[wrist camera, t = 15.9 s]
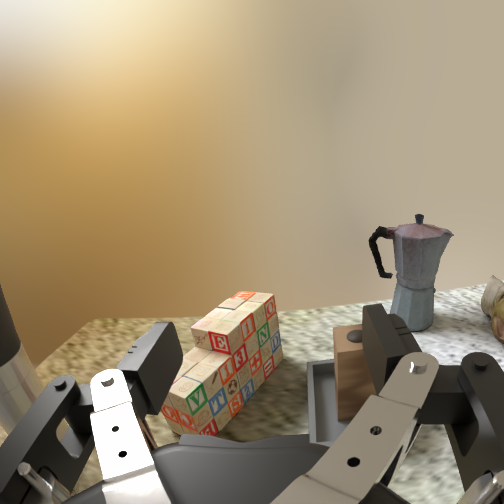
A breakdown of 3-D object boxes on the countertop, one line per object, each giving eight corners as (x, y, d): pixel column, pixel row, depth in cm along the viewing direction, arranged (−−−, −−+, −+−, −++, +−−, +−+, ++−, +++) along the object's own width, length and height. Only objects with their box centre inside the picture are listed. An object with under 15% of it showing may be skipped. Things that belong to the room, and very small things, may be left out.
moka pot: (452, 330, 44) (461, 218, 39) (371, 336, 50) (368, 223, 44) (441, 305, 53) (444, 207, 47) (369, 310, 58) (365, 211, 53)
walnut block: (337, 421, 32) (337, 351, 29) (334, 394, 37) (332, 326, 34) (377, 415, 32) (384, 344, 28) (371, 390, 36) (374, 321, 33)
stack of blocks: (205, 449, 32) (175, 378, 29) (170, 431, 36) (138, 362, 32) (284, 358, 49) (274, 292, 46) (252, 351, 53) (240, 289, 49)
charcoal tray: (309, 462, 28) (308, 448, 27) (308, 377, 43) (306, 362, 42) (412, 446, 26) (417, 430, 25) (385, 366, 41) (386, 351, 40)
